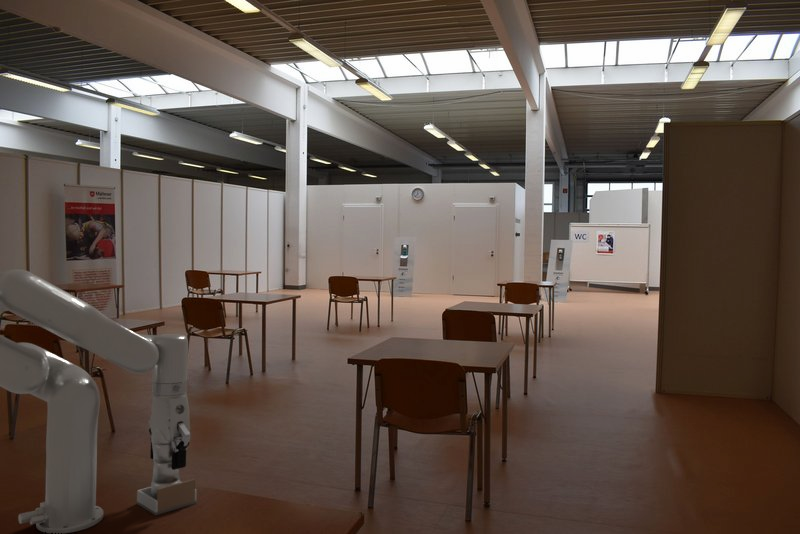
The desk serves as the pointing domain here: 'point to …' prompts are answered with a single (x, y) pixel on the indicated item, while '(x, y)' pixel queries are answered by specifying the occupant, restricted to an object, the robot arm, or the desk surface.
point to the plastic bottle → (162, 463)
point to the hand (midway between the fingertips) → (167, 462)
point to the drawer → (168, 497)
